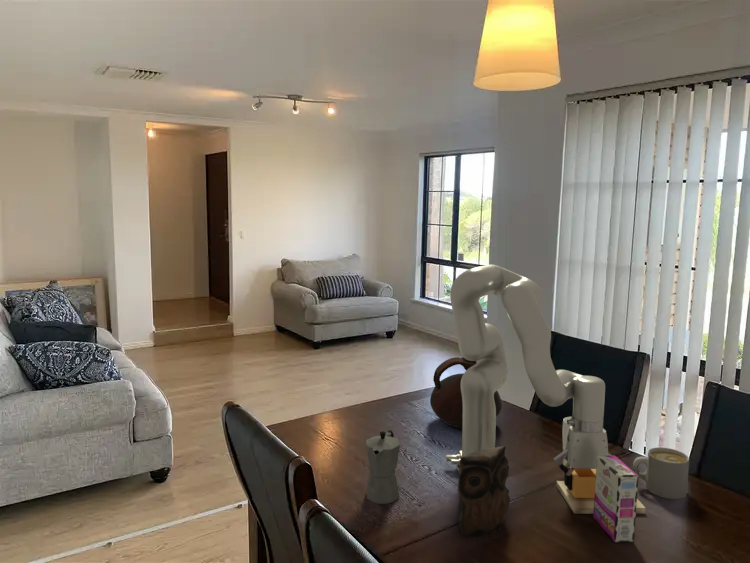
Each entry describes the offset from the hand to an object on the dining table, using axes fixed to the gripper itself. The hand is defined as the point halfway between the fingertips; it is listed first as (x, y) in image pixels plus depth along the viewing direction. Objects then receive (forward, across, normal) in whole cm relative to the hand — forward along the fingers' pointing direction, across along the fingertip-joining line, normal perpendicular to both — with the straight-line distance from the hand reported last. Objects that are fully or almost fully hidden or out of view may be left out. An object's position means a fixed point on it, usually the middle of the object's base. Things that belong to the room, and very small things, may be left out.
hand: (583, 487), depth 150 cm
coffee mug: (+4, +23, +6) cm, 24 cm away
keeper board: (+3, +4, 0) cm, 5 cm away
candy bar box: (+4, +2, -14) cm, 15 cm away
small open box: (+1, 0, 0) cm, 1 cm away
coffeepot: (+4, -53, +3) cm, 53 cm away
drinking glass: (+4, +3, +17) cm, 18 cm away
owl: (+4, -30, -11) cm, 32 cm away
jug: (+4, -23, +53) cm, 58 cm away
